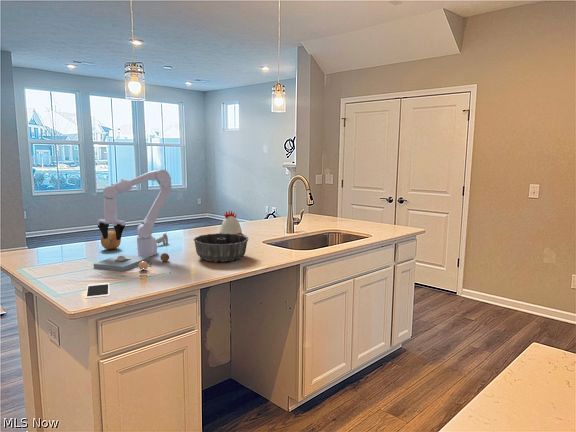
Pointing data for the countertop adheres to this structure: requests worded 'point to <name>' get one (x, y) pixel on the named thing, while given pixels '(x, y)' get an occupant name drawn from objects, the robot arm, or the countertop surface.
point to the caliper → (163, 239)
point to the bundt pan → (221, 246)
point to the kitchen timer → (230, 225)
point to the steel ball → (121, 259)
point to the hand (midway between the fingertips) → (112, 239)
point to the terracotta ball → (143, 265)
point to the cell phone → (97, 290)
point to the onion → (110, 241)
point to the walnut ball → (164, 257)
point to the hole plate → (121, 263)
